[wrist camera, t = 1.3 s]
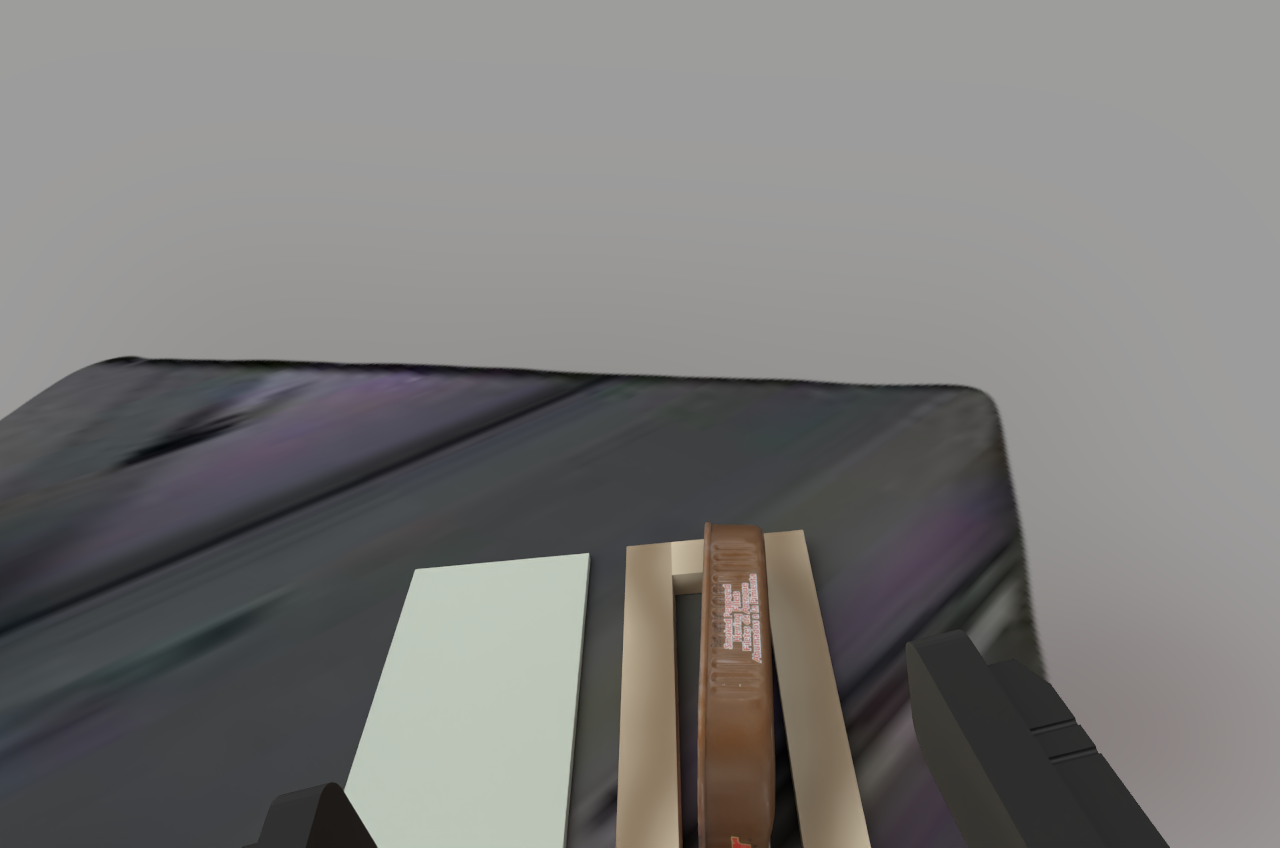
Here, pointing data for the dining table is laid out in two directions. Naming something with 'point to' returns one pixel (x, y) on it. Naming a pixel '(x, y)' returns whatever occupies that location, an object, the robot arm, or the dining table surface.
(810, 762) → the slot holder
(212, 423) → the dining table surface
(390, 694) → the mat
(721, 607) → the tin
